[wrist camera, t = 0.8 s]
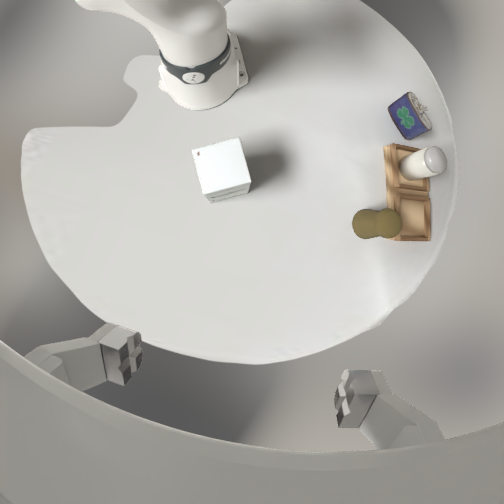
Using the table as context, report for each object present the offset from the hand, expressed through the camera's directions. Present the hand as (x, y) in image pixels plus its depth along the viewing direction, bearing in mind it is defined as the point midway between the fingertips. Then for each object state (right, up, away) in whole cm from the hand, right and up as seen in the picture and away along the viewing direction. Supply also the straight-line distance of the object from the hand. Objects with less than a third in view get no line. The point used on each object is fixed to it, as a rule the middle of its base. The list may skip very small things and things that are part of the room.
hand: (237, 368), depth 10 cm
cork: (+23, +10, +42) cm, 49 cm away
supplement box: (-5, +18, +40) cm, 44 cm away
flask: (+34, +34, +41) cm, 63 cm away
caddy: (+34, +17, +42) cm, 57 cm away
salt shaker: (+34, +23, +40) cm, 57 cm away
